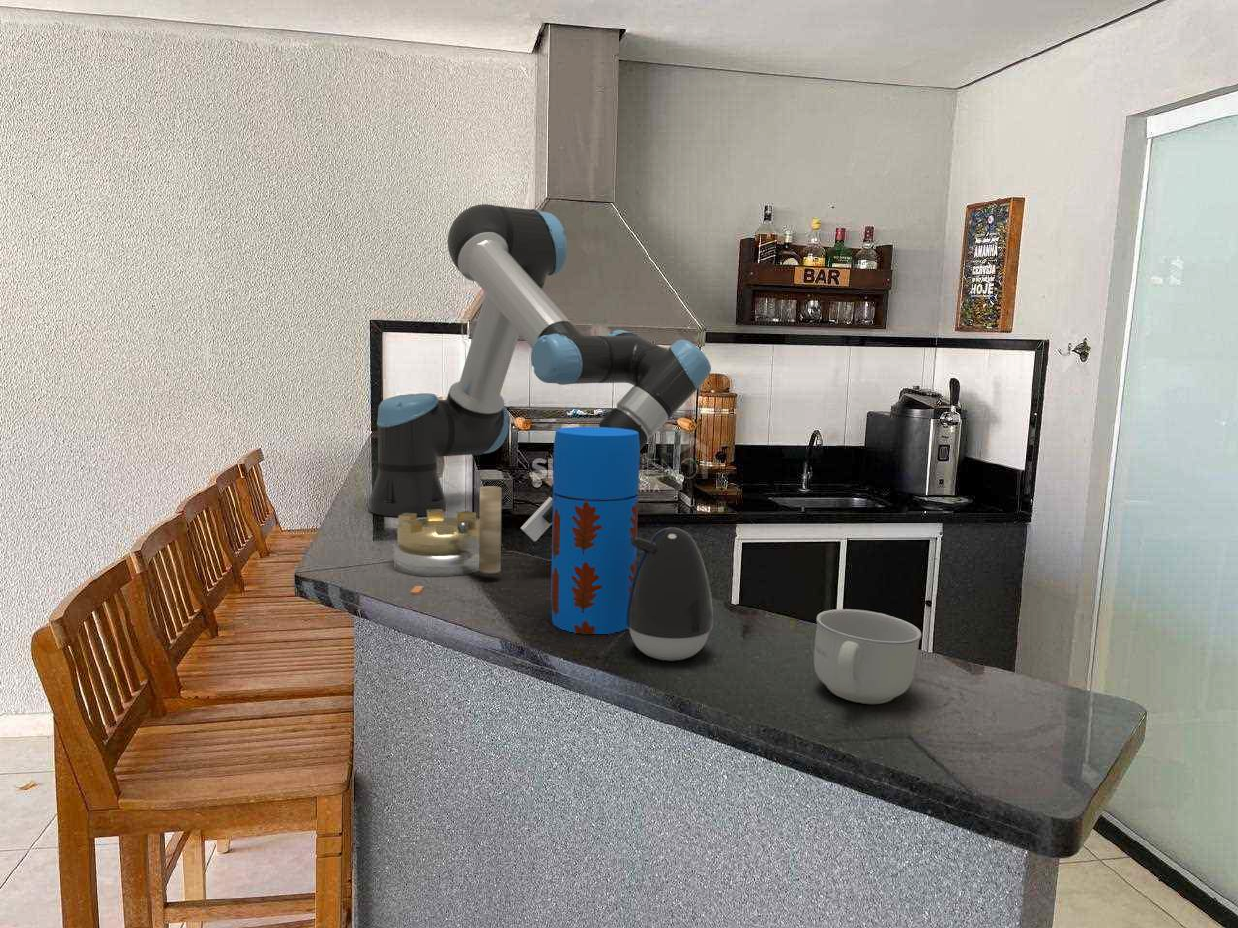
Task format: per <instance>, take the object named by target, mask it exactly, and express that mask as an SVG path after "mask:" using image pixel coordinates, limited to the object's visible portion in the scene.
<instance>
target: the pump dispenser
mask: <svg viewBox="0 0 1238 928" xmlns="http://www.w3.org/2000/svg"><path fill="white" fill-rule="evenodd" d="M631 545H632V546H634V547H636V548H637V549H638V550H640V551H642V552H643V553H642V555H641V557H640V559H639V562H638V564H637V566H636V572H635V576H634V579H633V582H632V586H631V591H630V595H629V601H628V607H627V616H626V623H627V626H628V627H629V629H628V630H629V634H630V636H631V639H632V642H633V643H634V645H635V647H636V648H637V649H638V650H639V651H640V652H641V653H643V654H644V655H646V656H648V657H650V658H653V659H656V660H660V661H665V660H666V661H669V662H675V661H676V660H677V661H683V660H686V659H688V658H691V657H693V656H694V655H696V654H698V653H699V652H700V651H701V650H702V648H703V647H704V646H705V644H706V642H707V641H708V637H709V635H710V631H712V629H713V627H714V626H713V625H714V612H713V611H714V610H713V602H712V601H713V600H712V592H711V587H710V582H709V577H708V573H707V569H706V566H705V563H704V559H703V557H702V554H701V551H700V549H699V548H698V545H697V544H696V542H695V540H694V539H693V537H692V536H691V535H690V533H688V531H685V530H684V529H681V528H678V527H665V528H663V529H660V530H659V531H658V532H656V533H655V534H654V535H653V536H652V537H651V539H650V540H647V539H643V538H641V537H638V536H637V537H633V538H632V540H631ZM677 661H676V662H677Z"/></svg>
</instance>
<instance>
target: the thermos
mask: <svg viewBox="0 0 1238 928" xmlns="http://www.w3.org/2000/svg"><path fill="white" fill-rule="evenodd" d="M640 451H641V450H640V443H639V433H638V432H637V431H634V430H629V429H621V428H608V427H599V426H571V427H562V428H558V429H555V436H554V441H553V471H552V472H553V474H552V475H553V476H552V477H553V478H552V479H553V480H552V484H553V491H554V492H553V522H552V524H551V526H552V529H551V530H552V532H551V534H552V535H551V579H550V580H551V583H550V585H551V586H550V587H551V589H550V597H551V599H550V601H551V622H552V621H553V622H552V625H553V626H554V625H555V626H557V627H558V628H560V629H562V630H561V631H563V630H566V631H569V632H574V633H573V634H575V633H585V634H608V635H610V634H609V633H614V634H616V633H615V632H619V631H623V630H625V629H626V628H628V626H627V623H626V616H627V607H628V601H629V595H630V591H631V586H632V582H633V579H634V576H635V572H636V570H637V549H638V548H636V547H634V546H632V545H631V540H632V538H633V537H637V538H638V515H639V514H638V512H639V487H640V486H639V485H640V484H639V483H640V480H639V479H640V457H641V456H640V453H641V452H640ZM555 626H554V627H555ZM558 628H557V629H558ZM560 629H559V630H560ZM566 631H565V632H566ZM625 631H626V630H625ZM569 632H568V633H569ZM623 632H624V631H623ZM619 633H620V632H619Z"/></svg>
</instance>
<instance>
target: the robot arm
mask: <svg viewBox="0 0 1238 928" xmlns="http://www.w3.org/2000/svg"><path fill="white" fill-rule="evenodd" d="M447 250H448V253H449V254H448V255H449V257H450V259H451V261H452V263H453V265H454V267H456V269H457V270H458V272H460V274H461V276H463V277H464V278H465V279H466V280H468V281H472V282H476V284H477V285H478V286H479V287H480V288H481V290H482V291H483V292H484V293H485V295H484V298H483V302H482V305H481V308H480V311H479V312H480V313H479V315H478V319H477V321H476V324H475V325H476V326H475V327H474V328H475V329H474V332H473V336H472V338H471V342H470V345H469V348H468V351H467V356H466V358H465V362H464V366H463V368H462V372H461V375H460V379H459V381H456V382H455V383H452V384H451V386H450V387H449V389H448V392H447V396H446V399H439V398H438V395H436V394H434V393H424V392H423V393H422V392H419V393H410V394H409V393H408V394H402V395H396V396H391V397H388V398H386V399H384V400H382V401H381V402H380V403H379V405H378V410H377V421H376V425H377V455H378V456H377V461H378V462H377V465H378V467H377V469H378V470H377V475H376V479H375V481H374V485H373V488H372V491H371V494H370V498H369V503H368V505H369V508H368V509H369V512H370V513H372V514H375V515H379V516H384V517H396V518H397V517H398V518H399V515H401V514H403V513H415V514H417V517H425V516H426V517H427V509H442V510H443V511H444V512H445V511H446V510H447V509H446V508H447V505H446V504H447V499H446V496H445V492H444V490H443V487H442V484H441V480H440V477H439V475H438V458H443V457H455V456H468V455H469V456H479V455H483V454H490V453H494V452H495V451H497V450H498V449H499V448H500V447H502V445H503V444H504V442H505V440H506V439H507V435H508V432H509V428H510V423H508V420H509V419H510V417H509V416H510V415H509V411H508V409H507V406H506V405H505V400H504V398H503V397H502V395H501V393H502V389H503V386H504V383H505V381H506V377H507V373H508V370H509V367H510V364H511V361H512V359H513V355H514V352H515V349H516V346H517V342H518V339H519V337H520V336H521V338H522V339H523V340H525V342H526V343H527V344H528V346H529V347H530V348H531V353H530V363H531V366H532V367H533V373H534V375H535V376H536V378H538V380H539V381H541V382H543V383H545V384H557V385H562V386H565V385H578V384H582V385H583V384H621V383H623V384H624V383H625V384H629V385H632V387H631V388H630V389H629V390H628V392H627V393H625V394H624V395H623V396H622V398H621V399H620V400H619V401H618V402H617V404H616V408H612V409H611V410H610V411H609V412H608V413H607V414H606V415H605V416H604V417H603V418H602V419H601V421H599V423H598V427H608V428H621V429H629V430H634V431H637V432H638V433H639V443H640V451H641V450H642V449H643V448H644V447H645V446H646V445H647V444H648V442H649V438H652V437H654V436H655V434H656V433H657V432H658V431H662V430H663V429H664V425H665V424H666V423H667V422H668V420H670V418H671V417H672V416H673V415H674V414H675V413H676V412H677V411H678V410H679V408H681V407H682V405H683V404H684V403H685V402H686V401H687V400H688V399H689V398H690V397H691V396H693V394H694V393H696V391H698V390H699V388H700V387H701V385H702V384H703V382H705V380H706V379H707V378H708V377H709V376H710V373H711V371H712V366H711V363H710V361H709V359H708V357H707V356H706V354H705V353H704V352H703V351H702V350H701V349H700V348H699V347H698V346H697V345H695V344H694V343H693V342H691V341H688V340H687V339H678V340H676V341H675V342H674V343H673V344H672V345H670V346H669V348H665V347H663V346H660V345H657V344H656V343H653V342H651V341H650V340H647V339H646V338H644V337H642V336H641V335H638V334H637V333H636V332H635V333H634V332H629V331H626V330H622V329H616V330H613V331H611V332H610V333H607V334H606V335H589V334H588V335H585V334H583V333H581V332H580V330H579V329H578V328H577V327H576V326H575V325H574V324H573V323H572V321H570V320H569V319H568V317H567V316H566V315H565V313H563V311H561V309H560V308H558V306H557V305H556V304H555V303H554V302H553V301H552V299H550V298H549V296H548V295H547V294H546V293H545V291H543V290H542V289H543V288H544V285H545V282H546V279H547V276H553V275H555V274H558V273H560V272H561V271H562V269H563V267H564V266H565V264H566V260H567V254H568V243H567V237H566V232H565V229H564V226H563V225H562V223H561V222H560V220H559V219H558V217H557V216H555V215H554V214H553V213H550V212H547V211H541V210H538V209H535V208H531V209H527V208H519V207H512V206H511V207H510V206H503V205H502V206H501V205H496V204H495V205H494V204H489V203H487V204H486V203H483V204H476V205H473V206H470V207H468V208H465V209H464V210H463V211H462V212H460V213H459V214H458V215H457V216H456V218H455V219H454V220H453V222H452V223H451V226H450V227H449V231H448V234H447ZM547 492H548V493H549V496H548V498H547V499H546V500H545V501H544V502H543V503H542V504H541V506H539V507H538V509H537V510H535V511H534V513H533V514H532V515H531V516H530V517H529V518H528V519H527V520H526V521H525V522H524V523H523V525H522V526H521V527H520V529H521V530H522V532H523V533H525V534H526V536H528V537H529V538H530V539H531V541H533V542H535V543H536V542H537V540H538V539H540V537H541V536H542V535H543V534H544V533H545V532H546V531H547V530H548V529H549V528H550V526H552V522H553V492H554V491H553V483H552V484H551V486H550V487H548V490H547Z"/></svg>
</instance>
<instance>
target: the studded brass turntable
mask: <svg viewBox="0 0 1238 928" xmlns="http://www.w3.org/2000/svg"><path fill="white" fill-rule="evenodd" d="M502 490H503V489H502V487H500V486H497V485H496V486H495V485H489V486H488V485H487V486H480V487H479V517H477V512H473V511H469V510H463V511H457V512H456V518H452V517H444V515H445V514H444V512H445V511H443V510H442V509H427V516H426V518H420V519H418V516H417V514H415V513H403V514H401V515H399V517H398V525H397V533H396V534H397V541H396V543H397V544H396V545H397V546H398V548H399V549H401V550H403V551H407V552H411V553H417V554H430V555H444V554H457V553H464V552H471V553H475V554H479V571H478V572H480V573H484V574H485V573H486V574H495V573H499V572H501V571H502V569H501V564H502V563H501V561H502V560H501V557H502V555H501V554H502V553H501V552H502V550H501V549H502V496H503V495H502V492H503V491H502Z"/></svg>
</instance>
